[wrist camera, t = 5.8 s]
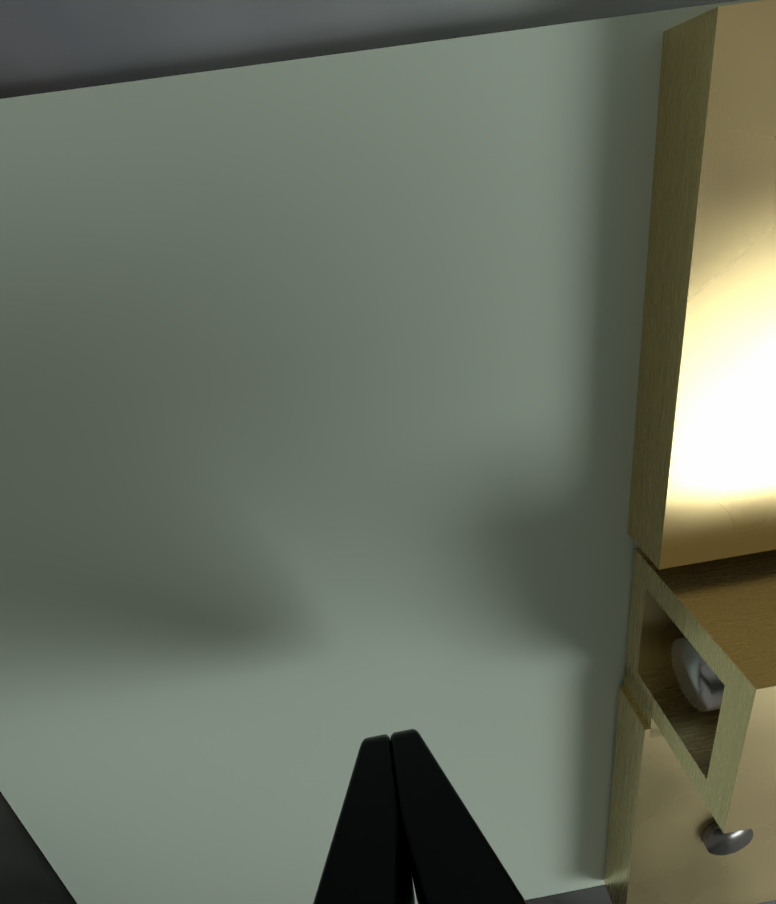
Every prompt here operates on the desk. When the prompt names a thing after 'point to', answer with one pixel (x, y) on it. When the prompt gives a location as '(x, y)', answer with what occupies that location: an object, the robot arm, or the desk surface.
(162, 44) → the desk surface
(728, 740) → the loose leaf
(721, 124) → the fixed leaf
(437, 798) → the robot arm
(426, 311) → the mat
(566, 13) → the desk surface
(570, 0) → the desk surface
